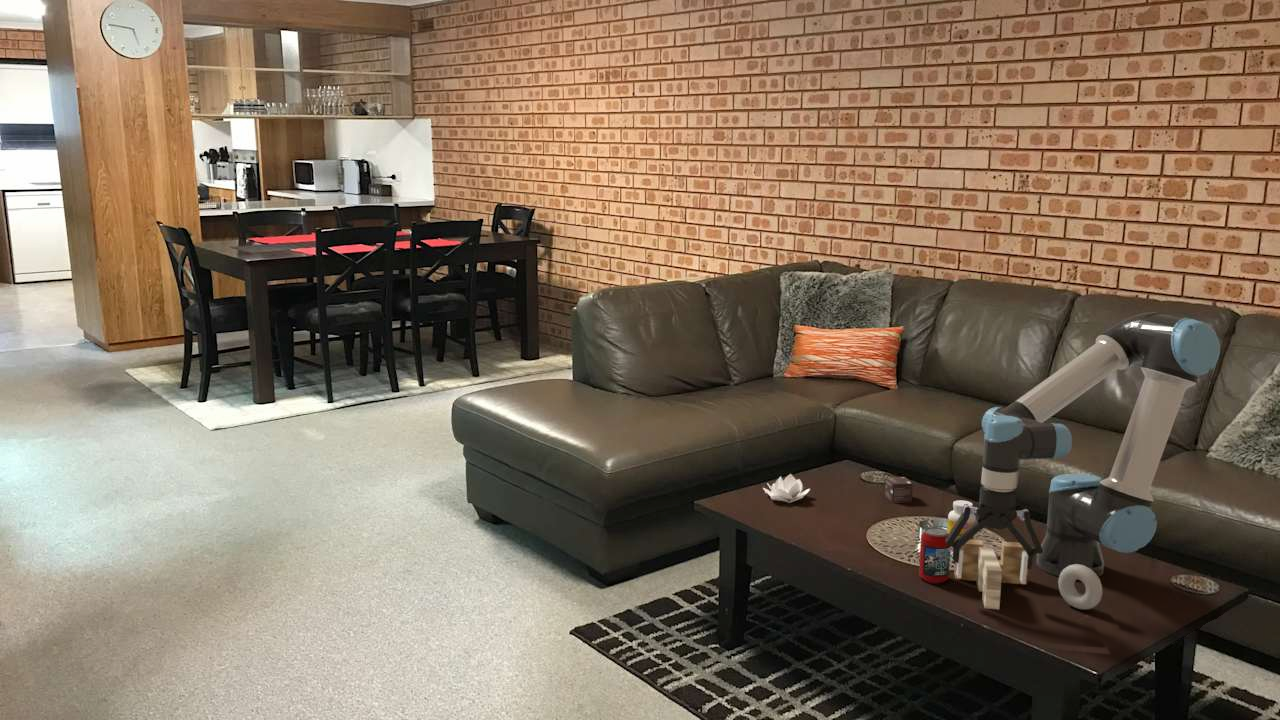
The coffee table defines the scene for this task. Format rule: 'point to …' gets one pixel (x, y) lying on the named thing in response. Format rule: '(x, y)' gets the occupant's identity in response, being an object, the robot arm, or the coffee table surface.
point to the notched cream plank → (989, 577)
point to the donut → (1090, 582)
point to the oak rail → (1008, 562)
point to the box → (898, 489)
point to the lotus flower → (786, 489)
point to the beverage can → (934, 555)
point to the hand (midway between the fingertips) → (990, 579)
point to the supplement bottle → (955, 516)
